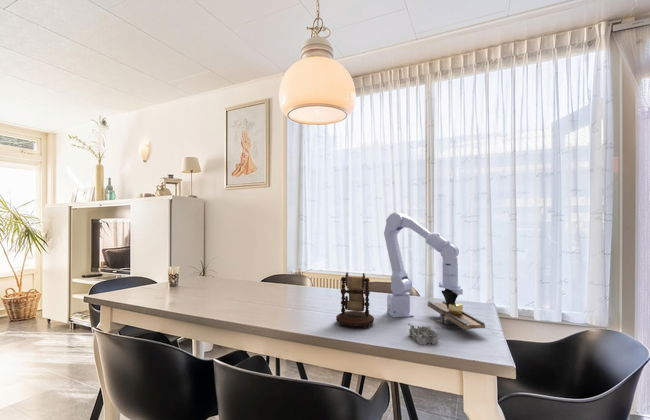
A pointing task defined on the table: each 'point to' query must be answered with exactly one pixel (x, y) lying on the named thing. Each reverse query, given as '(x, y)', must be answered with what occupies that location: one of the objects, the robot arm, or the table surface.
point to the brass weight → (456, 309)
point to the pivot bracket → (446, 322)
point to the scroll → (355, 302)
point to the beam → (457, 317)
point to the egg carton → (423, 334)
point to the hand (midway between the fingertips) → (450, 308)
